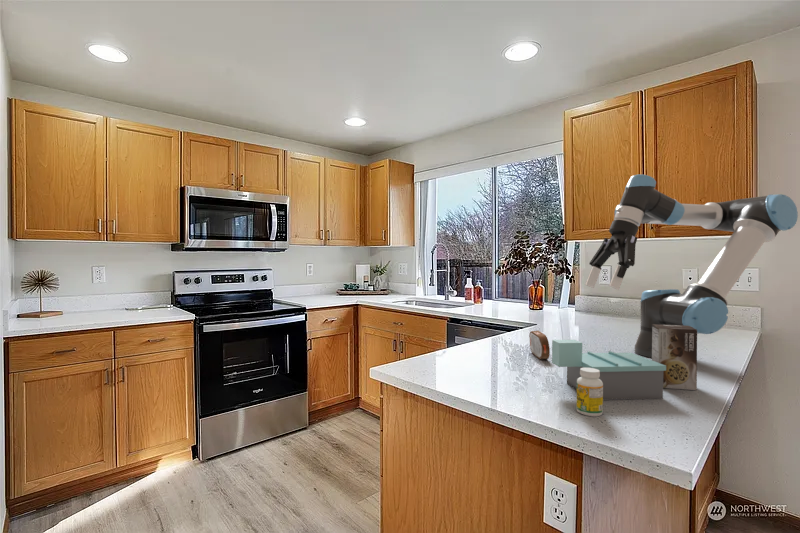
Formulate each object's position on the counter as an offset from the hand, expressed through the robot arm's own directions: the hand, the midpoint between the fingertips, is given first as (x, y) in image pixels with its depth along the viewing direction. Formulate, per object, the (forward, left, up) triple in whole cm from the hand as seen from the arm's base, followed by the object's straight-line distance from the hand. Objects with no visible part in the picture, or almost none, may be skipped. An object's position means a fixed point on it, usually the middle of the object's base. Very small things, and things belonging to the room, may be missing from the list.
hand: (600, 287), depth 129 cm
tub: (+8, +20, -25) cm, 33 cm away
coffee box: (-11, +17, -25) cm, 33 cm away
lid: (+11, +20, -18) cm, 29 cm away
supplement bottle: (+22, +34, -25) cm, 48 cm away
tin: (+12, -17, -26) cm, 33 cm away
